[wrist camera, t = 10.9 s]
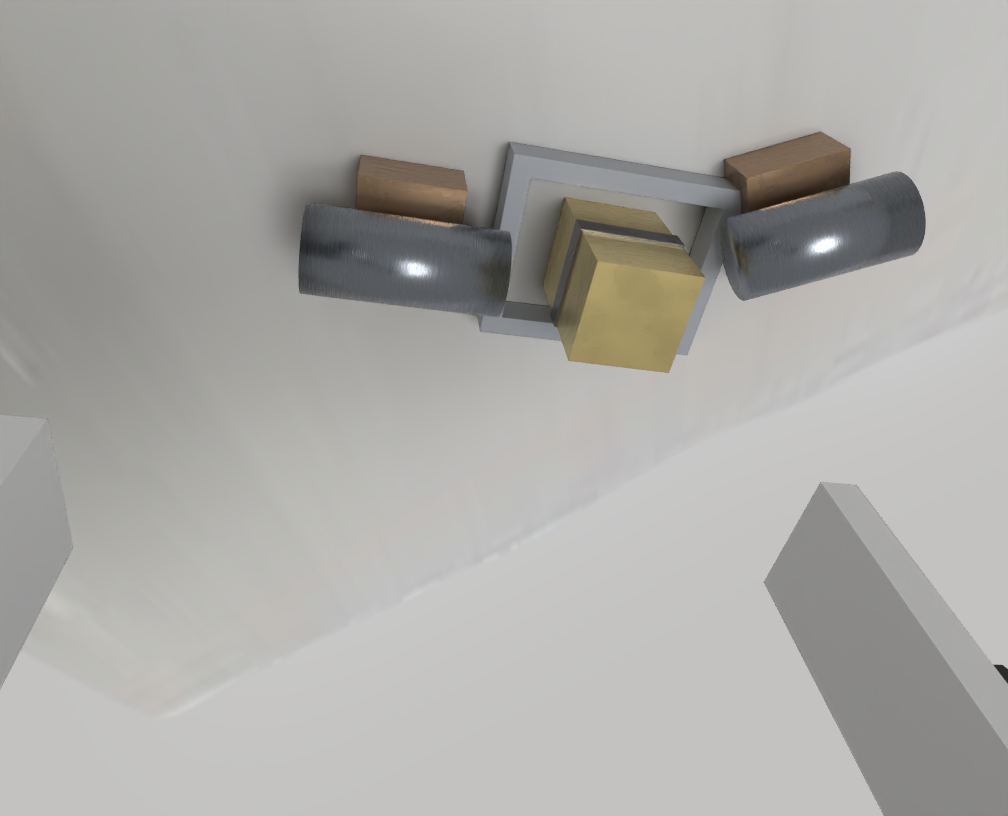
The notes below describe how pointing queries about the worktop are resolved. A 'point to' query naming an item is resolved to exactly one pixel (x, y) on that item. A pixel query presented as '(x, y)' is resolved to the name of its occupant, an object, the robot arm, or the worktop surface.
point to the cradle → (616, 178)
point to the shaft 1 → (405, 244)
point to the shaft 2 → (813, 217)
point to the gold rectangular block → (619, 286)
